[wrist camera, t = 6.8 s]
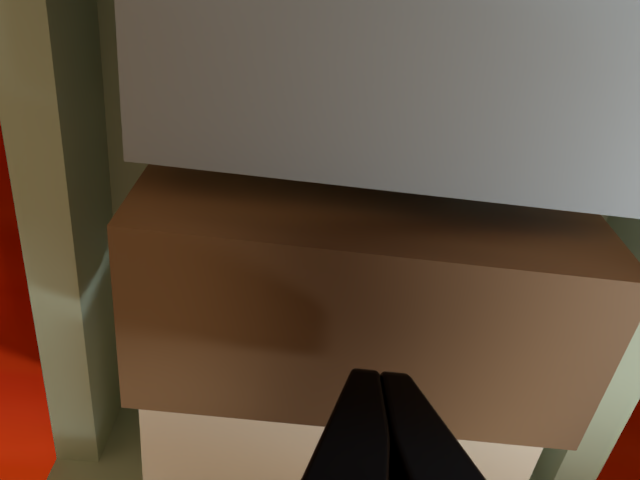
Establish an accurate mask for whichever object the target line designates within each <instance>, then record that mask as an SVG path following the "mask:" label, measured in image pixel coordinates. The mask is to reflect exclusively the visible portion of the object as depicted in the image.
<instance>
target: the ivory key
mask: <svg viewBox="0 0 640 480" xmlns="http://www.w3.org/2000/svg"><path fill="white" fill-rule="evenodd" d="M139 424H140V441H141V458H142V475H143V480H301V478H302V476H303V474H304V472H305V470H306V467H307V465H308V463H309V461H310V459H311V457H312V454H313V452H314V450H315V448H316V446H317V443H318V441H319V439H320V437H321V435H322V433H323V430H324V428H325V427H321V426H310V425H299V424H289V423H278V422H268V421H257V420H247V419H236V418H226V417H215V416H205V415H194V414H184V413H173V412H163V411H152V410H142V409H139ZM458 442H459V443H460V444H461V446H462V447H463V449H464V450H465V451H466V453H467V454H468V455H469V457H470V458H471V460H472V461H473V462H474V464H475V465H476V466H477V468H478V469H479V470H480V472H481V473H482V475H483V476H484V477H485V479H486V480H529V479H530V477H531V475H532V472H533V470H534V468H535V466H536V463H537V461H538V459H539V457H540V455H541V452H542V450H543V448H542V447H531V446H521V445H510V444H500V443H489V442H478V441H468V440H458Z"/></svg>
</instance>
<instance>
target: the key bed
mask: <svg viewBox="0 0 640 480" xmlns="http://www.w3.org/2000/svg"><path fill="white" fill-rule="evenodd" d="M0 123H1V128H2V134H3V140H4V146H5V152H6V158H7V164H8V170H9V176H10V182H11V188H12V194H13V200H14V206H15V212H16V218H17V224H18V230H19V236H20V242H21V248H22V254H23V260H24V266H25V272H26V278H27V284H28V289H29V295H30V301H31V307H32V313H33V319H34V325H35V331H36V337H37V343H38V349H39V355H40V361H41V367H42V373H43V379H44V385H45V391H46V397H47V403H48V409H49V415H50V421H51V427H52V433H53V439H54V445H55V450H56V456H57V459H56V461H55V463H54V465H53V467H52V469H51V472H50V474H49V476H48V478H47V480H143V475H142V458H141V441H140V424H139V409H131V408H121V398H120V386H119V373H118V361H117V348H116V336H115V323H114V311H113V298H112V285H111V273H110V260H109V248H108V235H107V225H108V223H109V222H110V220H111V219H112V217H113V216H114V214H115V213H116V211H117V210H118V208H119V207H120V205H121V204H122V202H123V201H124V199H125V198H126V196H127V195H128V193H129V192H130V190H131V189H132V187H133V186H134V184H135V183H136V181H137V180H138V178H139V177H140V175H141V174H142V173H143V171H144V170H145V168H146V167H147V165H148V164H143V163H134V162H125V161H124V157H123V140H122V123H121V107H120V90H119V73H118V56H117V39H116V22H115V5H114V0H0ZM601 216H602V217H603V218H604V219H605V221H606V222H607V223H608V224H609V225H610V227H611V228H612V229H613V230H614V232H615V233H616V234H617V235H618V236H619V238H620V239H621V240H622V241H623V243H624V244H625V245H626V246H627V247H628V249H629V250H630V251H631V252H632V254H633V255H634V256H635V257H636V258H637V260H638V261H639V262H640V219H635V218H626V217H617V216H608V215H601ZM639 399H640V323H639V325H638V327H637V329H636V331H635V333H634V335H633V337H632V339H631V341H630V343H629V345H628V347H627V349H626V351H625V353H624V355H623V357H622V359H621V361H620V363H619V365H618V367H617V369H616V372H615V374H614V376H613V378H612V380H611V382H610V384H609V386H608V388H607V390H606V392H605V394H604V396H603V398H602V400H601V402H600V404H599V406H598V408H597V410H596V412H595V414H594V416H593V418H592V420H591V422H590V424H589V426H588V428H587V430H586V432H585V434H584V436H583V438H582V440H581V442H580V444H579V447H578V449H577V451H573V450H563V449H552V448H543V450H542V452H541V455H540V457H539V459H538V461H537V463H536V466H535V468H534V470H533V472H532V475H531V477H530V479H529V480H596V479H597V477H598V475H599V473H600V472H601V470H602V468H603V466H604V464H605V462H606V460H607V459H608V457H609V455H610V453H611V451H612V449H613V447H614V445H615V444H616V442H617V440H618V438H619V436H620V434H621V432H622V431H623V429H624V427H625V425H626V423H627V421H628V419H629V418H630V416H631V414H632V412H633V410H634V408H635V406H636V405H637V403H638V401H639Z"/></svg>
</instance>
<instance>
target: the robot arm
mask: <svg viewBox="0 0 640 480" xmlns="http://www.w3.org/2000/svg"><path fill="white" fill-rule="evenodd" d="M301 480H486V479H485V477H484V476H483V475H482V473H481V472H480V470H479V469H478V468H477V466H476V465H475V464H474V462H473V461H472V460H471V458H470V457H469V455H468V454H467V453H466V451H465V450H464V449H463V447H462V446H461V444H460V443H459V442H458V440H457V439H456V438H455V436H454V435H453V434H452V432H451V431H450V429H449V428H448V427H447V425H446V424H445V423H444V421H443V420H442V419H441V417H440V416H439V414H438V413H437V412H436V410H435V409H434V408H433V406H432V405H431V404H430V402H429V401H428V399H427V398H426V397H425V395H424V394H423V393H422V391H421V390H420V389H419V387H418V386H417V384H416V383H415V382H414V380H413V379H412V378H411V376H409V375H408V374H406V373H399V372H389V371H384V372H382V373H381V374H379V372H378V371H376V370H369V369H359V368H354V369H352V370H351V372H350V374H349V376H348V378H347V380H346V382H345V385H344V387H343V389H342V391H341V393H340V395H339V398H338V400H337V402H336V404H335V406H334V409H333V411H332V413H331V415H330V417H329V419H328V422H327V424H326V426H325V428H324V430H323V433H322V435H321V437H320V439H319V441H318V443H317V446H316V448H315V450H314V452H313V454H312V457H311V459H310V461H309V463H308V465H307V467H306V470H305V472H304V474H303V476H302V478H301Z"/></svg>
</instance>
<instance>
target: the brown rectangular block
mask: <svg viewBox="0 0 640 480" xmlns="http://www.w3.org/2000/svg"><path fill="white" fill-rule="evenodd" d="M107 235H108V248H109V260H110V273H111V285H112V298H113V311H114V323H115V336H116V348H117V361H118V373H119V386H120V398H121V408H131V409H142V410H152V411H163V412H173V413H184V414H194V415H205V416H215V417H226V418H236V419H247V420H257V421H268V422H278V423H289V424H299V425H310V426H321V427H325V426H326V424H327V422H328V419H329V417H330V415H331V413H332V411H333V409H334V406H335V404H336V402H337V400H338V398H339V395H340V393H341V391H342V389H343V387H344V385H345V382H346V380H347V378H348V376H349V374H350V372H351V370H352V369H354V368H359V369H369V370H376V371H378V372H379V374H381V373H382V372H384V371H389V372H399V373H406V374H408V375H409V376H411V378H412V379H413V380H414V382H415V383H416V384H417V386H418V387H419V389H420V390H421V391H422V393H423V394H424V395H425V397H426V398H427V399H428V401H429V402H430V404H431V405H432V406H433V408H434V409H435V410H436V412H437V413H438V414H439V416H440V417H441V419H442V420H443V421H444V423H445V424H446V425H447V427H448V428H449V429H450V431H451V432H452V434H453V435H454V436H455V438H456V439H457V440H468V441H478V442H489V443H500V444H510V445H521V446H531V447H542V448H552V449H563V450H573V451H577V449H578V447H579V444H580V442H581V440H582V438H583V436H584V434H585V432H586V430H587V428H588V426H589V424H590V422H591V420H592V418H593V416H594V414H595V412H596V410H597V408H598V406H599V404H600V402H601V400H602V398H603V396H604V394H605V392H606V390H607V388H608V386H609V384H610V382H611V380H612V378H613V376H614V374H615V372H616V369H617V367H618V365H619V363H620V361H621V359H622V357H623V355H624V353H625V351H626V349H627V347H628V345H629V343H630V341H631V339H632V337H633V335H634V333H635V331H636V329H637V327H638V325H639V323H640V262H639V261H638V260H637V258H636V257H635V256H634V255H633V254H632V252H631V251H630V250H629V249H628V247H627V246H626V245H625V244H624V243H623V241H622V240H621V239H620V238H619V236H618V235H617V234H616V233H615V232H614V230H613V229H612V228H611V227H610V225H609V224H608V223H607V222H606V221H605V219H604V218H603V217H602V216H601V215H599V214H590V213H581V212H572V211H563V210H554V209H546V208H537V207H528V206H519V205H510V204H501V203H492V202H483V201H474V200H465V199H456V198H447V197H438V196H429V195H420V194H411V193H402V192H394V191H385V190H376V189H367V188H358V187H349V186H340V185H331V184H322V183H313V182H304V181H295V180H286V179H277V178H268V177H259V176H250V175H242V174H233V173H224V172H215V171H206V170H197V169H188V168H179V167H170V166H161V165H152V164H148V165H147V167H146V168H145V170H144V171H143V173H142V174H141V175H140V177H139V178H138V180H137V181H136V183H135V184H134V186H133V187H132V189H131V190H130V192H129V193H128V195H127V196H126V198H125V199H124V201H123V202H122V204H121V205H120V207H119V208H118V210H117V211H116V213H115V214H114V216H113V217H112V219H111V220H110V222H109V223H108V225H107Z"/></svg>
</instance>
